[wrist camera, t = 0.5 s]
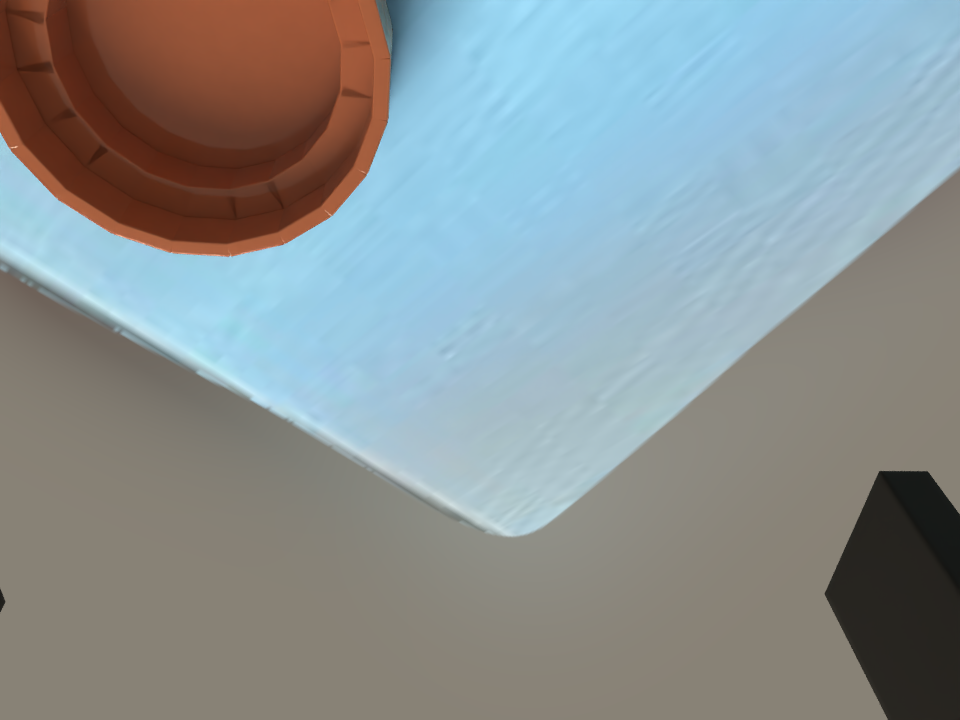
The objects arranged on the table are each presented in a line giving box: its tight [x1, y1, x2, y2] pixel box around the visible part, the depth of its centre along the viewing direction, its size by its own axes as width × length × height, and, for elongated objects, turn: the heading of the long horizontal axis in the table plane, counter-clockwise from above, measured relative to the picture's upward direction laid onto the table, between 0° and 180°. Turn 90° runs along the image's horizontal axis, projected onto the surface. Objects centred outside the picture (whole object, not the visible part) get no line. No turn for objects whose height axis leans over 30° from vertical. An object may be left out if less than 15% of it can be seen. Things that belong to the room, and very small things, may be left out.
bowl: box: [0, 0, 393, 257], centre depth 32 cm, size 14×14×5 cm
